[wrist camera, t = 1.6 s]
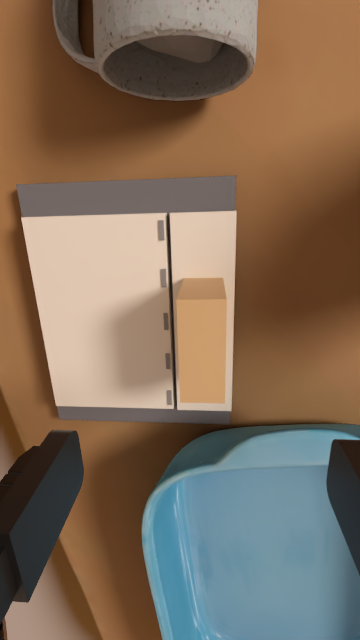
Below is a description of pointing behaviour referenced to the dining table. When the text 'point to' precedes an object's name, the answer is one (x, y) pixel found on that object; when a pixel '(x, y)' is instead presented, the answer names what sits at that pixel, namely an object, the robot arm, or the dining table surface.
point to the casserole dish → (251, 539)
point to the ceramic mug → (165, 45)
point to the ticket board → (113, 292)
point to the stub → (203, 307)
